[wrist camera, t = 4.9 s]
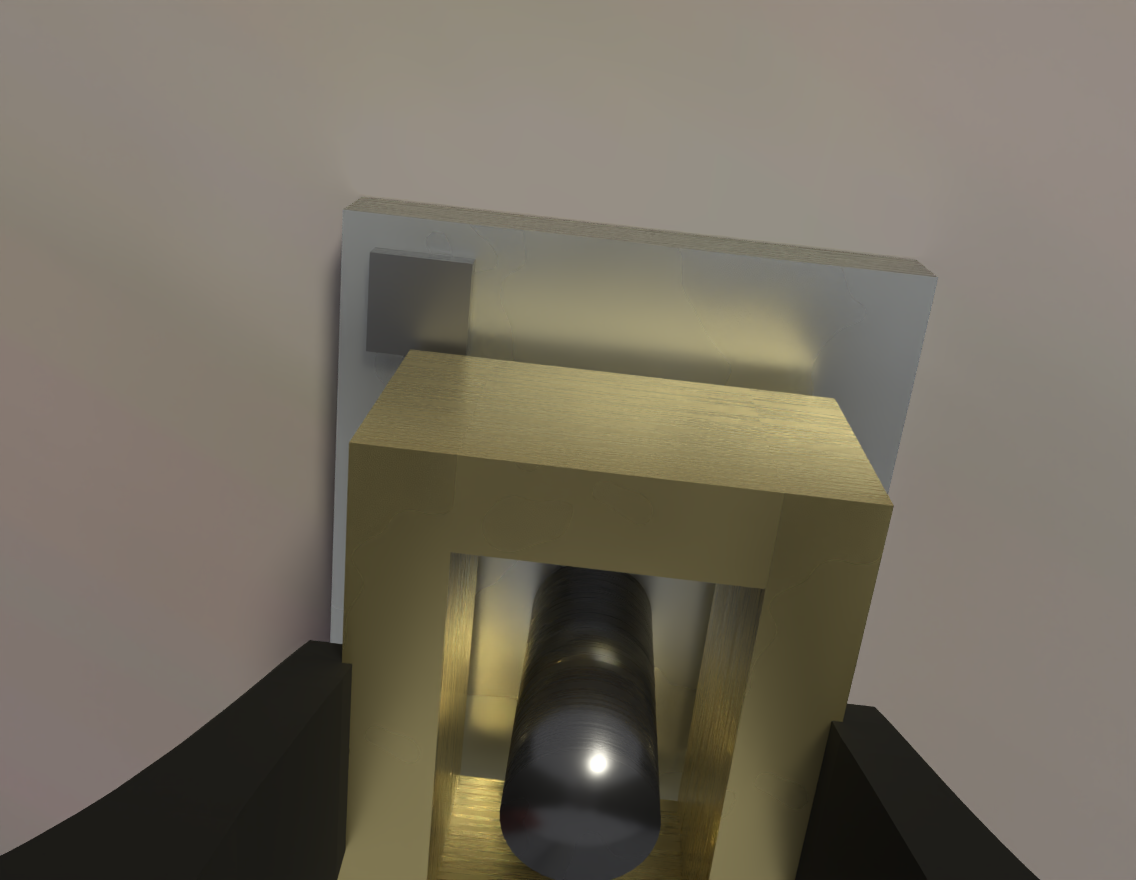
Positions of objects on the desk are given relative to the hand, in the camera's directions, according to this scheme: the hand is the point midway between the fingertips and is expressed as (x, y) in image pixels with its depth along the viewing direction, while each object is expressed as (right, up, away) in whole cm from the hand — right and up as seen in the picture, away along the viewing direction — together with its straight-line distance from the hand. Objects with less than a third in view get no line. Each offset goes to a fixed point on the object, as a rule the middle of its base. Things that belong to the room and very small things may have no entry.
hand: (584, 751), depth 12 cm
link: (0, +1, +2) cm, 2 cm away
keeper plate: (0, +1, +4) cm, 4 cm away
